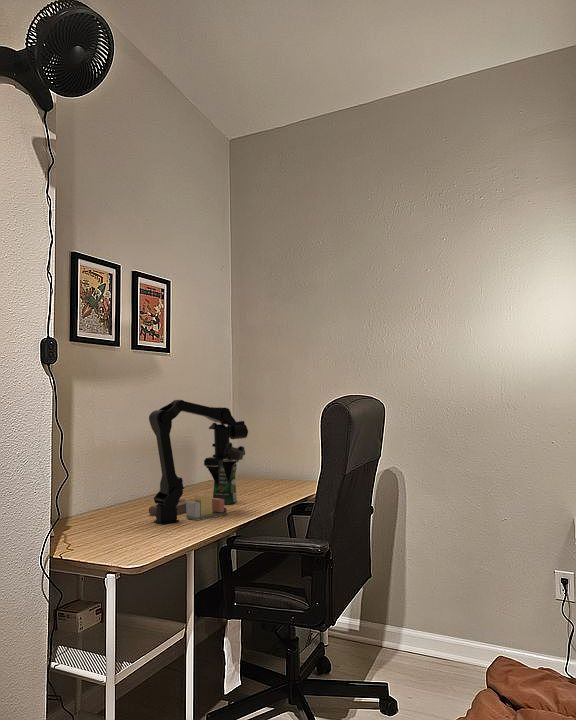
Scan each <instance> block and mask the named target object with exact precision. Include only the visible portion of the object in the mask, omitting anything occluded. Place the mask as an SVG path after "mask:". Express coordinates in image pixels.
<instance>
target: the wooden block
mask: <svg viewBox="0 0 576 720" xmlns="http://www.w3.org/2000/svg"><path fill="white" fill-rule="evenodd" d="M186 501H195V499H184V498H180V499H179V502H178V505H176V507H177V516H180V515H183V514H186V513H185V512H186ZM156 505H158V504H153V505H150V507H149V508H148V513H149V515H151V516H156ZM179 514H180V515H179Z"/></svg>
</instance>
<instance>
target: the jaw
mask: <svg viewBox="0 0 576 720" xmlns="http://www.w3.org/2000/svg"><path fill="white" fill-rule="evenodd" d="M224 508H225V504H224V500H223V499H218V498H213V497H212V511H216V512H224Z"/></svg>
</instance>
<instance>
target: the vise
mask: <svg viewBox="0 0 576 720" xmlns="http://www.w3.org/2000/svg"><path fill="white" fill-rule="evenodd" d="M227 512H228V507H224V512H216V511H212V514H209V515H204V516H200V503H199V502H195V501H186V513H185V518H186V519H188V518H190V519H189V520H192V519H194V520H193V521H198V520H197V519H200V520H204V519H203V518H206V519H210V518H209V517H212V518H215V517H214V516H218V517H221V516H220V515H223V516H227V515H228V513H227Z"/></svg>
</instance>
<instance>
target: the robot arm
mask: <svg viewBox="0 0 576 720" xmlns="http://www.w3.org/2000/svg"><path fill="white" fill-rule="evenodd" d="M181 412H183V413H188V414H191V415H195V416H201V417H205V419H208V420H209V421H212V424H211V425H210V426H209V427H208V430H213V433H214V434H213V437H214V439H213V440H214V441H213V442H214V443H212V447H214V454H212V456H210V457H205V459H204V460H203V466H205V468H207V469H208V471H209V473H210V475H211V477H212V478H213V481H215V483H216V484H219V480H220V469H221V468H222V467H224V470H225V474H226V477H227V480H230V479H231V475H232V471H233V467H234V465H235V464H236V465H237V463H239V461H240V460H241V461H242V460H243V459H244V456H245V455H246V448H245V446H242V445H239V446H238V447H234V446H233V442H230V440H239V439H246V438H248V434H249V429H248V427H247V425H246V424H245V420H239V421H236V420H235V418H234V417H233V416H232V412H231V410H230V409H229V408H228V407H221V406H220V407H217V406H206V405H201V404H198V403H194V402H190V401H186V400H183V399H174V400H172V401H171V402H170V403H168V404H166V405H164V406H163V407H161V408H159V409H157V410H153V411H152V412H151V413H150V414H149V417H148V421H149V425H150V428H151V430H152V431H153V433H154V435H155V437H156V442H157V443H156V445H157V450H158V457H159V463H160V469H161V478H160V482H159V491H158V492H157V493H156V495H155V496H154V497H153V501H154V503H155V505H156V515H155V517H156V519H154V520H153V522H154V523H158V524H161V525H167V524H171V523H178V522H179V520H180V519H179V520H178V515H177V507H176V505H178V502H179V499H181V497H182V495H183V493H184V491H183V490H185V487H184V484H183V483H184V482H183V478H182V477H179V476H178V475H177V474H176V470H175V469H176V468H175V462H174V461H175V460H174V455H173V450H172V442H171V430H172V427H173V425H172V424H173V420H174V419H175V418H177V416H178V415H179V414H180V413H181ZM218 423H219V424H218ZM235 460H236V461H235ZM222 464H223V465H222ZM157 504H158V505H157Z"/></svg>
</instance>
